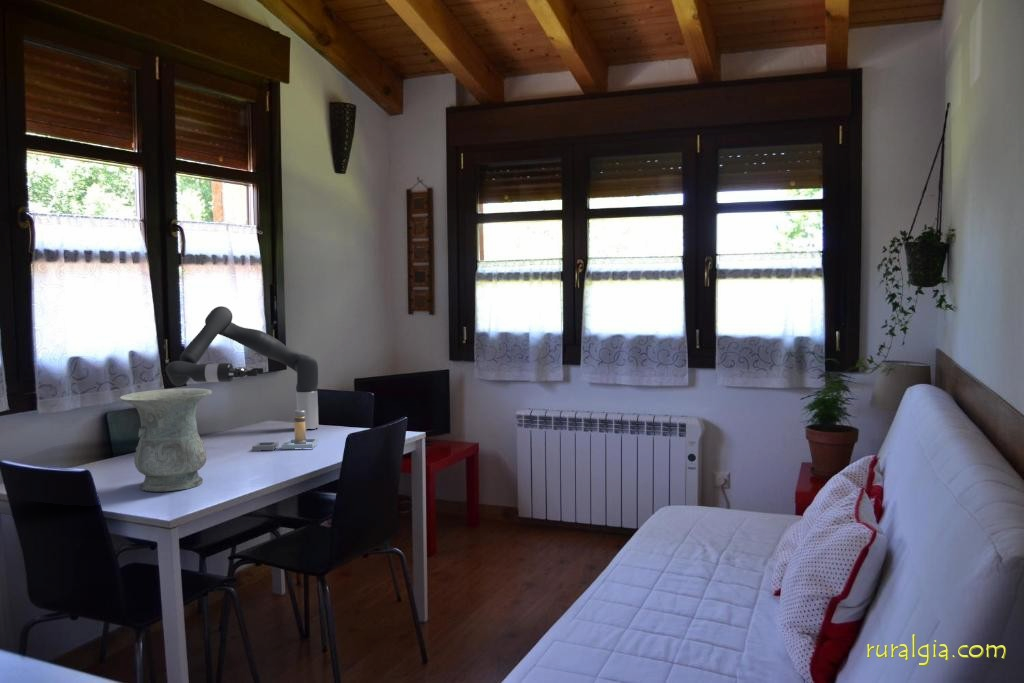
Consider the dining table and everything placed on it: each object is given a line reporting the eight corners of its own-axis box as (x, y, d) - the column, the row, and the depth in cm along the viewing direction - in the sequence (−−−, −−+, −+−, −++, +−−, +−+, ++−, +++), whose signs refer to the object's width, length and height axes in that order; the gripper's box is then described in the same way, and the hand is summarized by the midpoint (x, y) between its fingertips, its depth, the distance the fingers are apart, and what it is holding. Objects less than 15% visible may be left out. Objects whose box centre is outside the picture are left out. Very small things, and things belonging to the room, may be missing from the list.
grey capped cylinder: (296, 444, 306) (294, 409, 305) (307, 444, 306) (306, 409, 305) (293, 446, 301) (292, 411, 300) (305, 446, 301) (303, 411, 301)
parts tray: (289, 444, 309) (289, 439, 309) (319, 443, 310) (318, 438, 310) (281, 450, 297) (281, 445, 297) (312, 449, 298) (312, 444, 298)
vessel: (112, 486, 245) (107, 394, 243) (195, 471, 264) (191, 385, 262) (142, 501, 226) (137, 401, 224) (229, 484, 244) (225, 392, 242)
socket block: (258, 447, 304) (258, 442, 304) (278, 446, 304) (278, 441, 304) (252, 451, 296) (252, 446, 296) (273, 450, 296) (273, 445, 296)
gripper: (212, 365, 297) (254, 364, 298) (224, 361, 311) (264, 360, 312) (213, 384, 297) (255, 383, 298) (225, 379, 312) (265, 379, 312)
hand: (260, 371), depth 305 cm, fingers open, 8 cm apart
